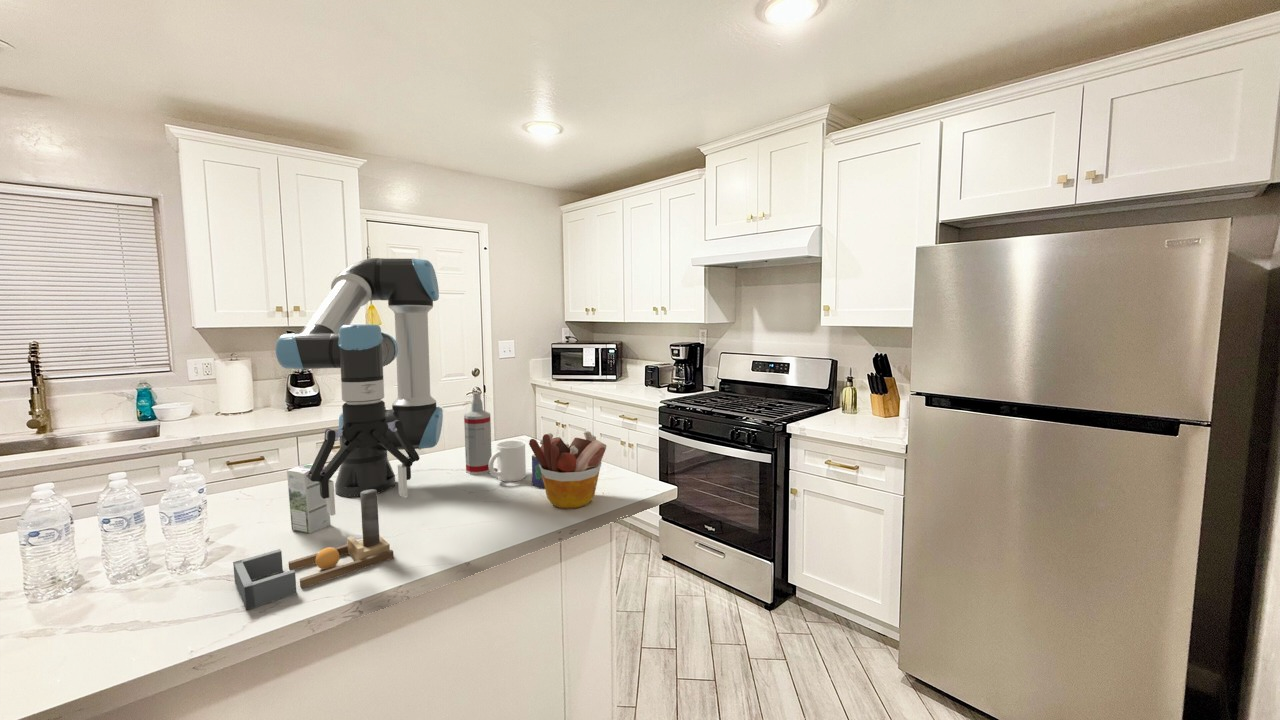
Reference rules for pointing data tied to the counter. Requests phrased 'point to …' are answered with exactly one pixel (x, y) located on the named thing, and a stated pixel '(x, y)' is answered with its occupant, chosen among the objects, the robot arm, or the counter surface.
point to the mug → (509, 461)
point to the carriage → (368, 529)
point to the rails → (337, 570)
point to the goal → (266, 587)
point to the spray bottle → (477, 438)
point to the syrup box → (306, 501)
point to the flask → (536, 474)
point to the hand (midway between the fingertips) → (368, 504)
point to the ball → (327, 558)
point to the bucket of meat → (569, 468)
